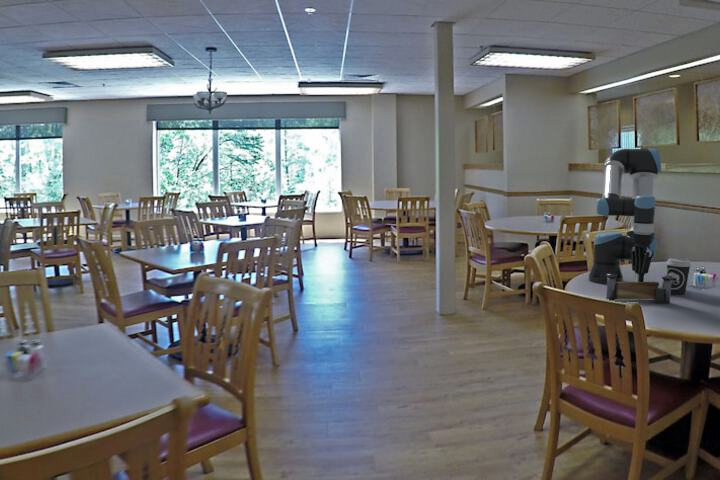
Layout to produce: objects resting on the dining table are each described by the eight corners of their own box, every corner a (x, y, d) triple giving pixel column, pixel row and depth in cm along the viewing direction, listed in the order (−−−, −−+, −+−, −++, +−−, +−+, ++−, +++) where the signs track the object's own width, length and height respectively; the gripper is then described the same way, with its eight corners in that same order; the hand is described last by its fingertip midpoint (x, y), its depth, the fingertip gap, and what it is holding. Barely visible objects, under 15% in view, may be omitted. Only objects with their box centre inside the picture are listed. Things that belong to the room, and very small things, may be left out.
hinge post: (604, 298, 234) (605, 273, 233) (614, 298, 233) (616, 273, 232) (606, 300, 230) (607, 275, 229) (616, 301, 229) (618, 275, 228)
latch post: (651, 300, 230) (653, 274, 228) (669, 301, 228) (671, 275, 226) (654, 303, 225) (656, 277, 224) (672, 304, 224) (674, 278, 222)
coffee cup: (692, 297, 234) (695, 262, 232) (667, 296, 236) (670, 261, 234) (684, 291, 244) (686, 258, 241) (660, 290, 245) (662, 257, 243)
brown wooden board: (613, 298, 233) (614, 281, 231) (655, 298, 232) (656, 281, 230) (615, 299, 231) (616, 282, 230) (657, 299, 230) (659, 282, 229)
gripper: (625, 231, 235) (621, 285, 239) (643, 235, 223) (639, 292, 226) (641, 230, 236) (637, 285, 240) (661, 235, 224) (656, 292, 227)
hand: (638, 288), depth 233 cm, fingers closed
